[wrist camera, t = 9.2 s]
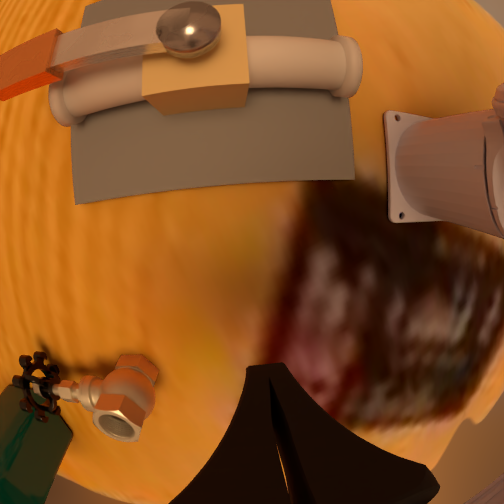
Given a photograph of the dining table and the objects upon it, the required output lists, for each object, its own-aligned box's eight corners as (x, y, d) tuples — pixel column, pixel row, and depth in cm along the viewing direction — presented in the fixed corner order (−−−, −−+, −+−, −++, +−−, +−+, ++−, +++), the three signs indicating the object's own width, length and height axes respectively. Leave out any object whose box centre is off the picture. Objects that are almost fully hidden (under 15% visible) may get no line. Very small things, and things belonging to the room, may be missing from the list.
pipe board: (321, -13, 13) (343, -51, 8) (348, 179, 17) (391, 181, 12) (90, 11, 12) (61, -20, 7) (82, 203, 16) (36, 214, 11)
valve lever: (223, 18, 9) (223, -4, 7) (219, 63, 10) (218, 44, 8) (15, 64, 8) (-4, 56, 6) (7, 103, 9) (-15, 98, 7)
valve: (149, 335, 19) (37, 337, 19) (124, 393, 13) (0, 377, 12) (172, 397, 21) (65, 392, 20) (160, 456, 15) (39, 435, 14)
